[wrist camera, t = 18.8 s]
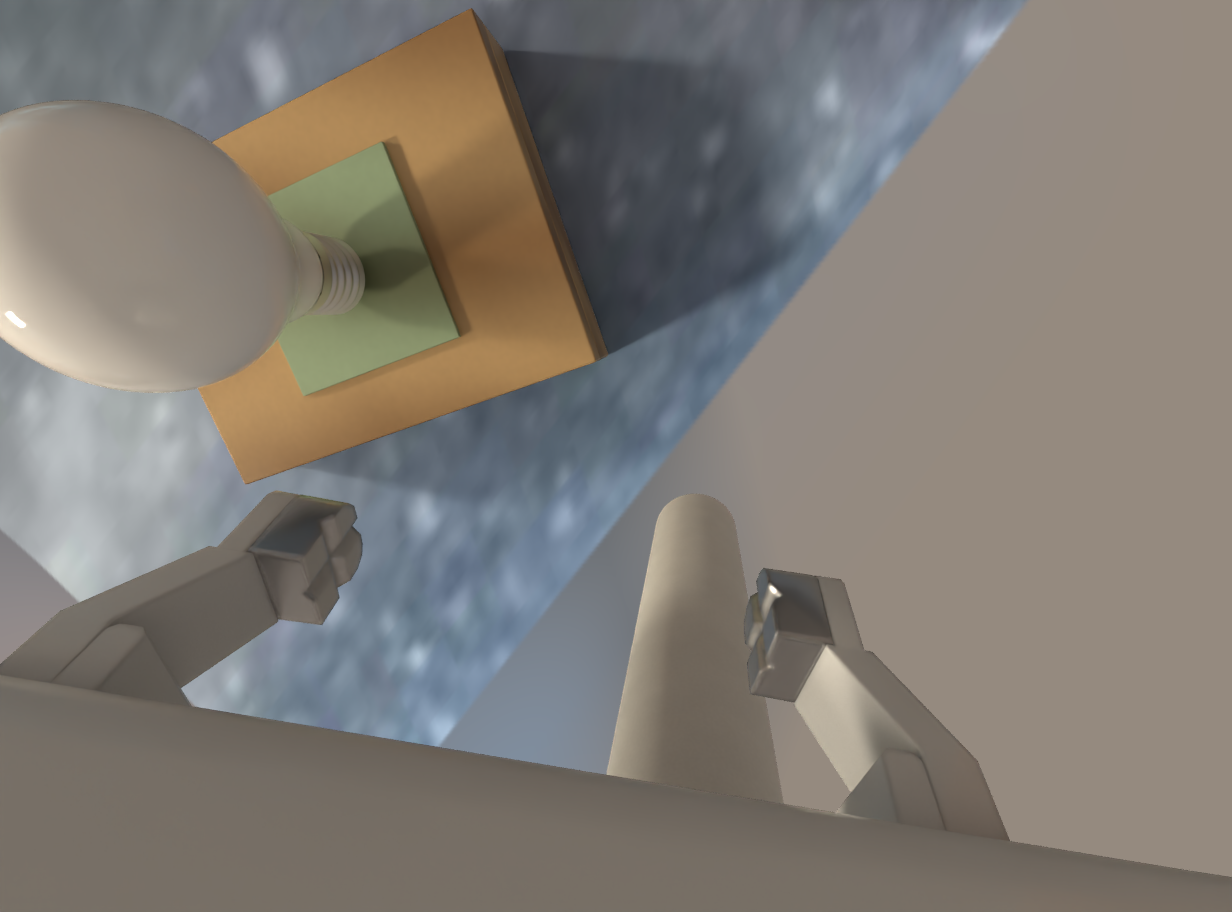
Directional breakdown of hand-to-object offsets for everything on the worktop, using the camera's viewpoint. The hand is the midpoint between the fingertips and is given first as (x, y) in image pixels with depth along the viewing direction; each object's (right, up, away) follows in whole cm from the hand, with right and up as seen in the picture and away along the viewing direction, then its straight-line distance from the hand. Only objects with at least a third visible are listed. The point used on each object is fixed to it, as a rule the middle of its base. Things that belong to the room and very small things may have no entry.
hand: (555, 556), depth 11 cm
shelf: (-8, +9, +13) cm, 18 cm away
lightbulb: (-9, +9, +10) cm, 16 cm away
